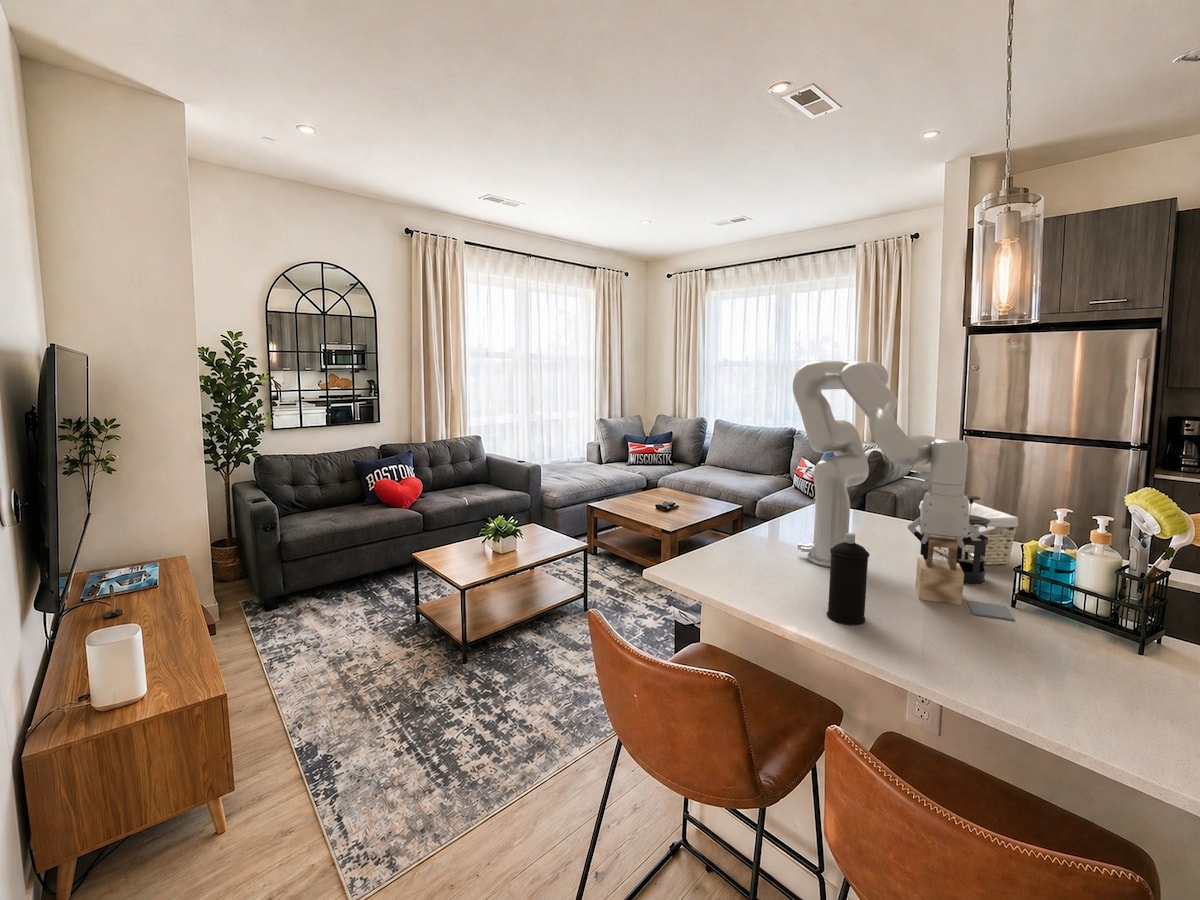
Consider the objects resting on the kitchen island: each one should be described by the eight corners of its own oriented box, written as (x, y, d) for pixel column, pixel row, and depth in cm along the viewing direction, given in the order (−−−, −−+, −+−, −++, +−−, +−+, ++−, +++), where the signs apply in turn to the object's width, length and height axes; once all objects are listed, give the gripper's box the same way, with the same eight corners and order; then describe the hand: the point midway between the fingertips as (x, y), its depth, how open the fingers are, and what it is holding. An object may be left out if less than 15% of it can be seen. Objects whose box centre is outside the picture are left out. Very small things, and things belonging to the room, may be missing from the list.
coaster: (972, 614, 129) (972, 613, 129) (966, 601, 136) (966, 600, 136) (1014, 620, 126) (1014, 619, 126) (1005, 607, 133) (1006, 605, 133)
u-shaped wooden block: (927, 567, 138) (929, 540, 137) (924, 559, 143) (926, 533, 142) (955, 570, 135) (958, 543, 134) (951, 563, 140) (954, 536, 139)
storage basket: (914, 542, 184) (917, 498, 182) (962, 541, 184) (966, 498, 182) (961, 567, 160) (965, 518, 158) (1016, 567, 160) (1022, 517, 158)
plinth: (918, 599, 138) (921, 568, 137) (915, 586, 146) (917, 557, 145) (961, 605, 134) (964, 573, 133) (955, 591, 142) (958, 562, 141)
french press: (995, 585, 146) (1003, 500, 143) (958, 585, 146) (966, 500, 143) (967, 569, 158) (974, 491, 154) (933, 569, 158) (940, 491, 155)
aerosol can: (862, 628, 122) (868, 541, 120) (823, 620, 127) (827, 535, 124) (867, 614, 129) (872, 532, 127) (829, 607, 134) (834, 527, 131)
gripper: (907, 489, 136) (902, 559, 139) (991, 495, 129) (984, 569, 132) (905, 483, 143) (900, 550, 146) (984, 489, 136) (978, 559, 139)
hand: (940, 559), depth 139 cm, fingers closed on u-shaped wooden block, 6 cm apart
